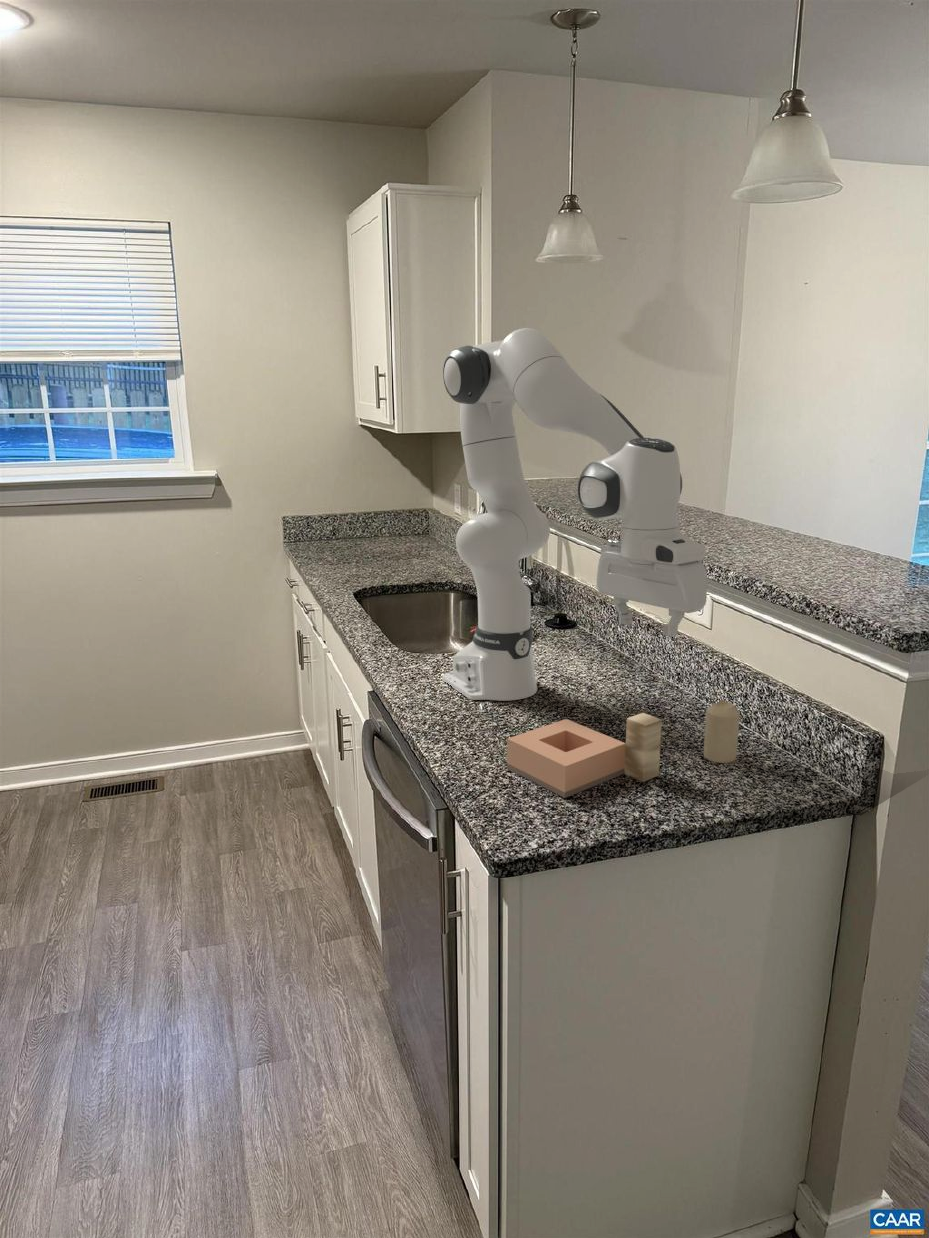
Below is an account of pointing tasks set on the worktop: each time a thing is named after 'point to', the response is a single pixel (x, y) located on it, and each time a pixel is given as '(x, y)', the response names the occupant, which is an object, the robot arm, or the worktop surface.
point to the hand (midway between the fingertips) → (647, 629)
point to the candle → (721, 732)
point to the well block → (566, 757)
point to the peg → (642, 747)
